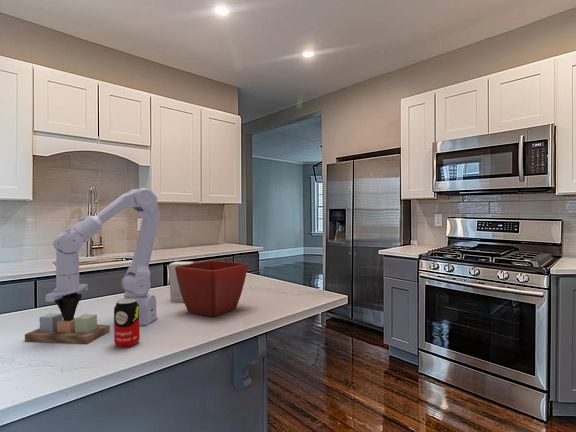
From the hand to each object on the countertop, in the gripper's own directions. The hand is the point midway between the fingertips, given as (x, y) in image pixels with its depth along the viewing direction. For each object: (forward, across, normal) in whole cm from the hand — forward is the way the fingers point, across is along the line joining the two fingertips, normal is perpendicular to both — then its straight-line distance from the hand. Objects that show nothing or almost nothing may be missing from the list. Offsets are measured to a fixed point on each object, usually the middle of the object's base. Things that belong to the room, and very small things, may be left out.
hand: (68, 320), depth 104 cm
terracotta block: (+4, 0, 0) cm, 4 cm away
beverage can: (+5, +4, +20) cm, 21 cm away
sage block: (+3, 0, +6) cm, 6 cm away
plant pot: (+5, -30, +34) cm, 45 cm away
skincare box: (+5, -43, +16) cm, 46 cm away
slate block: (+3, 0, -6) cm, 6 cm away
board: (+5, 0, 0) cm, 5 cm away
